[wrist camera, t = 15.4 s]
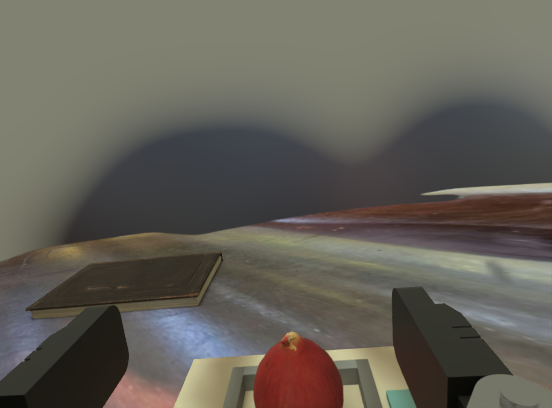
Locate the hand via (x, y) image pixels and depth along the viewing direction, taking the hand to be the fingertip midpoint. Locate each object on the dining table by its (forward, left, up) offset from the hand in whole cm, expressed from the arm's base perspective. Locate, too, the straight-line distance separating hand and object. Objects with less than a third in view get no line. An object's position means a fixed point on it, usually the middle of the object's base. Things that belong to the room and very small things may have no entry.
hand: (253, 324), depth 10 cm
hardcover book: (-47, +2, -17) cm, 50 cm away
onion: (-9, +6, -15) cm, 19 cm away
